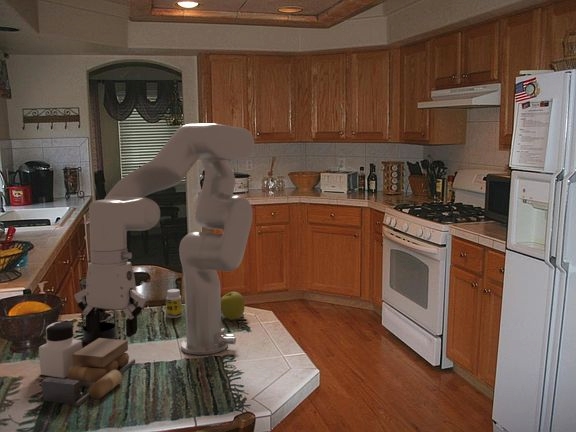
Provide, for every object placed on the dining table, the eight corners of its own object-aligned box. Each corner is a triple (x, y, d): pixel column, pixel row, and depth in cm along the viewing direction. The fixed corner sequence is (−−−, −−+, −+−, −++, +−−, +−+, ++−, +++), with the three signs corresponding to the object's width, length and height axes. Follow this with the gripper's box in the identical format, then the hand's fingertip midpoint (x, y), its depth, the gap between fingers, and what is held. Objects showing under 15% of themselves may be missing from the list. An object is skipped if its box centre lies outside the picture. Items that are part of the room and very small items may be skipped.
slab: (128, 349, 140) (127, 340, 140) (103, 367, 130) (102, 357, 129) (99, 347, 142) (99, 337, 142) (73, 364, 132) (72, 354, 131)
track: (135, 362, 142) (134, 349, 141) (77, 406, 119) (76, 390, 118) (100, 359, 144) (99, 346, 144) (37, 401, 121) (36, 385, 121)
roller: (123, 384, 129) (109, 383, 130) (121, 369, 129) (108, 369, 130) (103, 399, 122) (89, 399, 123) (101, 384, 121) (87, 384, 122)
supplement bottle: (164, 317, 177) (163, 292, 176) (170, 313, 182) (169, 288, 181) (178, 318, 176) (177, 292, 175) (184, 313, 181) (183, 288, 180)
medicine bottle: (84, 367, 139) (81, 320, 138) (64, 378, 133) (60, 330, 131) (60, 363, 142) (57, 318, 140) (40, 375, 135) (36, 327, 133)
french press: (115, 343, 155) (110, 262, 152) (79, 346, 153) (74, 264, 150) (119, 329, 166) (115, 254, 163) (86, 331, 165) (82, 255, 162)
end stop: (80, 400, 121) (79, 380, 121) (75, 404, 120) (74, 384, 119) (49, 396, 123) (47, 377, 123) (43, 400, 121) (41, 381, 121)
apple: (250, 311, 180) (246, 284, 176) (240, 325, 173) (235, 298, 169) (228, 308, 182) (223, 282, 178) (217, 323, 176) (212, 296, 172)
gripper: (153, 255, 122) (155, 331, 124) (84, 251, 127) (87, 325, 129) (136, 262, 115) (138, 342, 117) (63, 258, 119) (66, 335, 121)
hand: (111, 333), depth 123 cm, fingers open, 9 cm apart
